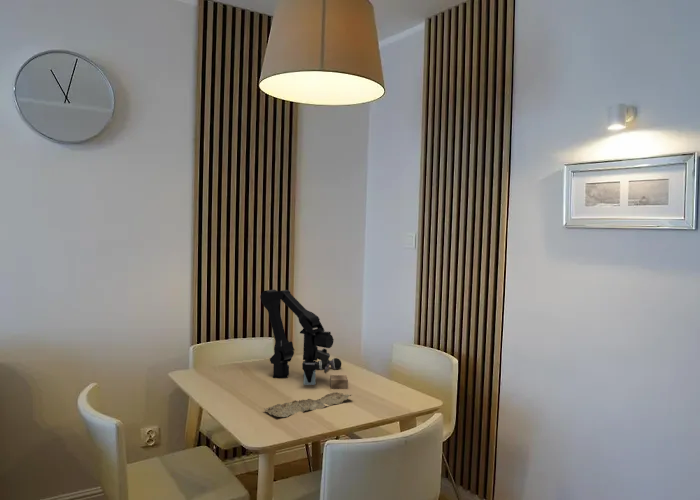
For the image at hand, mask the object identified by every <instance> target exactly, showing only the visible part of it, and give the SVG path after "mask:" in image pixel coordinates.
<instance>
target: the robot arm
mask: <svg viewBox="0 0 700 500" xmlns="http://www.w3.org/2000/svg"><path fill="white" fill-rule="evenodd" d="M259 298H260V300H261V303H262V305H263V307H264V308H265V309H266V311H267V313H268V316H269V320H270V324H271V328H272V332H273V336H274V341H275V343H274V346H273V352H274V354H273V355H271V357H270V358H269V363H270V364H271V365H272V366H273V367H272V368H273V370H272V371H273V372H272V373H273V375H272V378H273V379H275V378H276V379H283V378H285V379H286V378H287V379H288V377H289V375H290V365H289V362H291V361H292V359H293V356H294V355H295V348H294V343H293V341H290V340H288V339H287V337H286V336H287V335H286V331H285V328H284V324H283V320H282V317H281V313H280V307H279V306H280V305H281V304H280V303H281V301H282V302H283V303H284V304H285V306H286V307H287V308H289V310H290V311H291V312H292V313H293V314H294V315H296V317H297V318H298V322H299V324H300V326H301V327H302V329H301V330H300V331H299V334H302V335H303V350H302V351H303V353H302V354H303V355H302V360H303V361H302V364H301V365H302V367H301V368H302V369H301V370H303V374H304V373H305V375H306V378H307V381H308V383H310V382H311V379H312V375H313V371H314V370H315V371H316V370H318V369H317V362H318V361H324V362H326V363H327V362H328V360H330V356H331V354H330V353H329V352H328V349H331V348H332V347H333V345H334V342H335V341H334V340H335V339H334V337H333V335H332V333H331V331H325V328H324V326H323V325H322V323H321V319H320V317H319V316H318V315H317V314H315V313H314V312H312V311H310V310H307V308H305V307H304V306H303V305H302V304H301V303H300V302H299V301H298V300H297V298H295V296H294V295H293V294H292V293H291V292H290V290H289V289H284V290H279V291H278V290H277V289H269V290H263V291H262V292H261V294H260V297H259ZM318 348H323V349H318Z"/></svg>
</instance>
